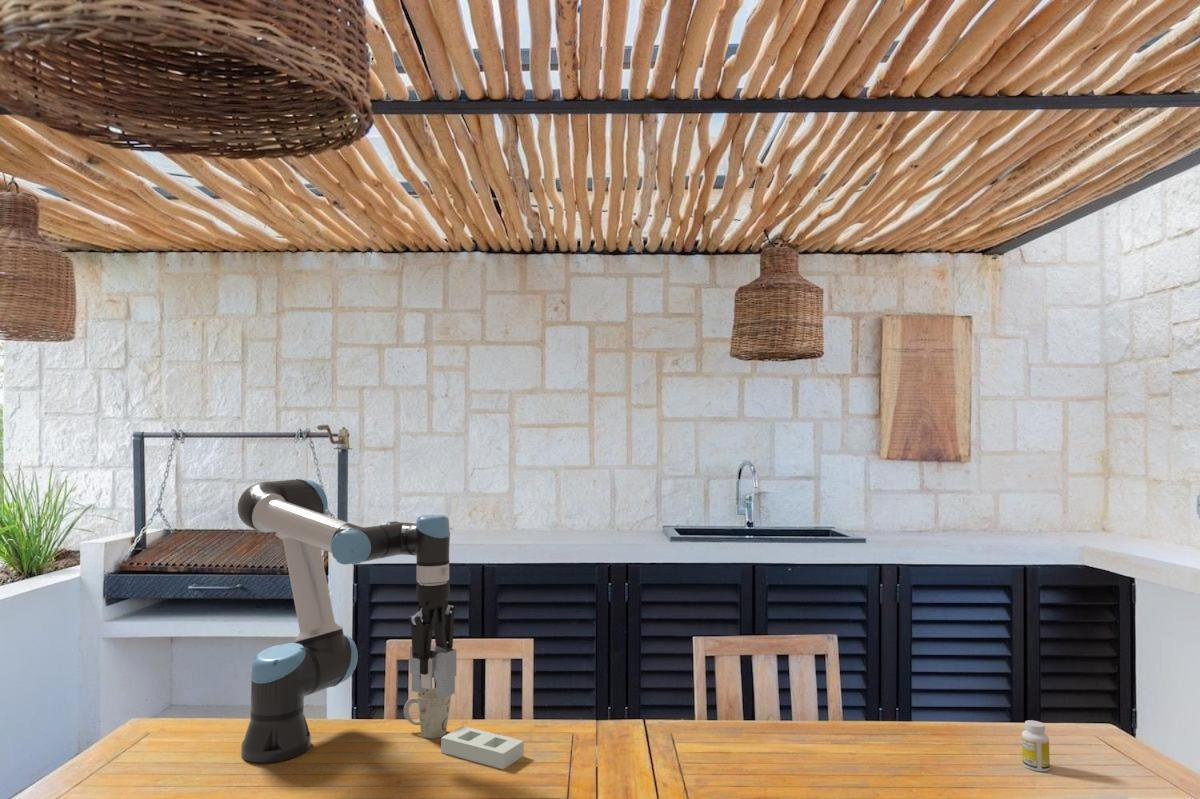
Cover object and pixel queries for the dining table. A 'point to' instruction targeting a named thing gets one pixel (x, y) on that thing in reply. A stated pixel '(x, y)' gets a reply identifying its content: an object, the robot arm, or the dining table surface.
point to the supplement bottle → (1035, 746)
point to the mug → (430, 713)
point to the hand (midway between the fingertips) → (433, 684)
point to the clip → (437, 670)
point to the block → (482, 747)
